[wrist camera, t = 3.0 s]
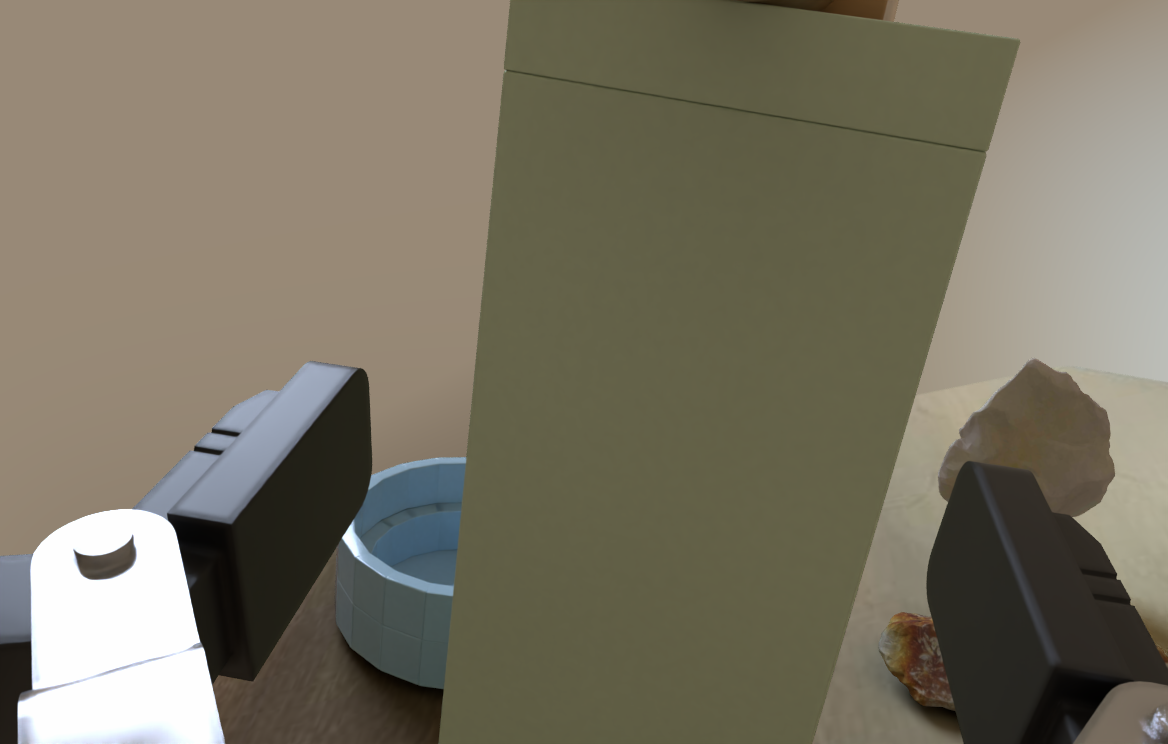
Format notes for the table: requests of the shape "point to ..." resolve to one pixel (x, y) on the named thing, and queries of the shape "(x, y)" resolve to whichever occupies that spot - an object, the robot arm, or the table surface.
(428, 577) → the bowl
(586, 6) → the stand
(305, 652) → the table surface
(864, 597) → the table surface
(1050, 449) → the stone tool
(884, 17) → the wooden tool
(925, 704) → the decorative stone
